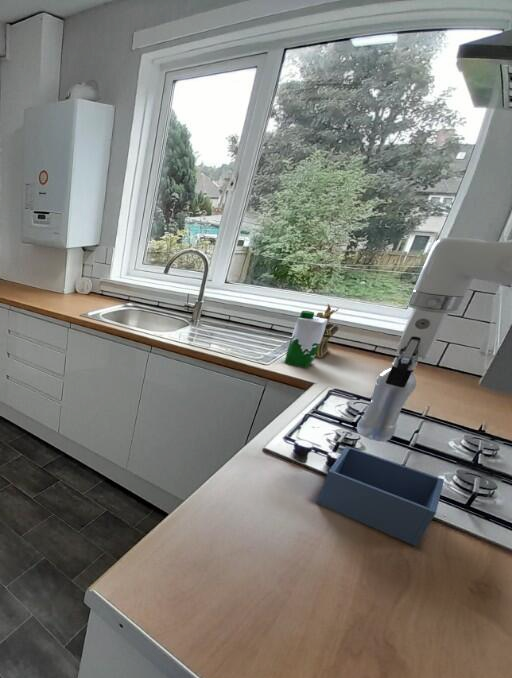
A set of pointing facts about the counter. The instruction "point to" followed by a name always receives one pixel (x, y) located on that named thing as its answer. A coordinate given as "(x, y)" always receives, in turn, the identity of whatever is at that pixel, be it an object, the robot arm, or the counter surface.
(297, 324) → the milk carton
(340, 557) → the counter surface
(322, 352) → the brown figurine
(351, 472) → the tote
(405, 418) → the counter surface
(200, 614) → the counter surface
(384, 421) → the plastic bottle
